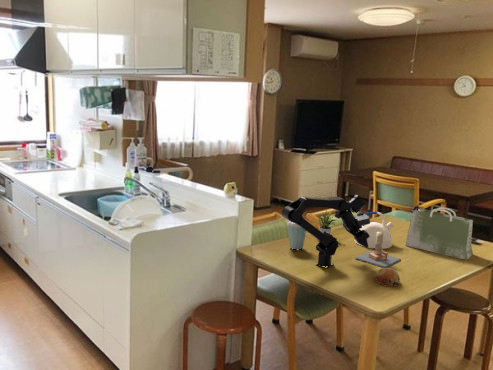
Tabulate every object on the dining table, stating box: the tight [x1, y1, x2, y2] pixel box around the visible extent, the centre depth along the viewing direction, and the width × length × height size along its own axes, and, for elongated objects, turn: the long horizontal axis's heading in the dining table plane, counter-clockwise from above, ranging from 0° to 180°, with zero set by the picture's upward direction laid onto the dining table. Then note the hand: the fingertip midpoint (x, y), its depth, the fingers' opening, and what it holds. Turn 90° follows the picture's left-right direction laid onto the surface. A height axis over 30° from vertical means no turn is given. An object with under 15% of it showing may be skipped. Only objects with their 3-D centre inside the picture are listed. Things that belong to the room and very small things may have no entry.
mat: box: [354, 250, 401, 268], centre depth 218 cm, size 16×16×1 cm
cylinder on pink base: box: [369, 232, 388, 260], centre depth 217 cm, size 7×5×13 cm
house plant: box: [314, 209, 338, 234], centre depth 248 cm, size 14×14×16 cm
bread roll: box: [374, 267, 401, 287], centre depth 190 cm, size 10×10×8 cm
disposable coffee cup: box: [286, 220, 307, 250], centre depth 229 cm, size 11×11×15 cm
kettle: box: [353, 211, 395, 250], centre depth 243 cm, size 20×21×18 cm
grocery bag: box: [404, 206, 474, 260], centre depth 236 cm, size 32×14×23 cm, turn 52°
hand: (363, 242), depth 214 cm, fingers open, 9 cm apart
